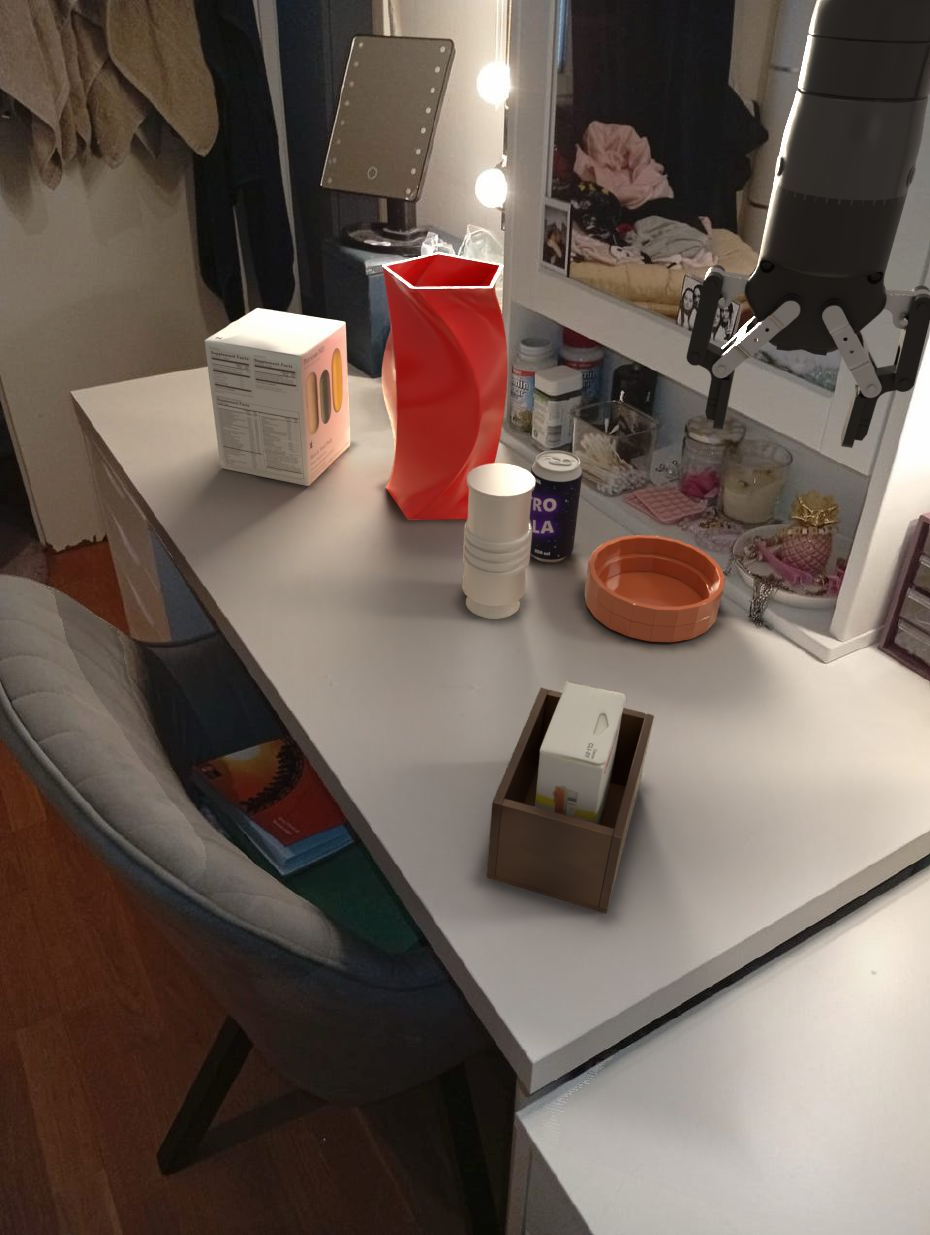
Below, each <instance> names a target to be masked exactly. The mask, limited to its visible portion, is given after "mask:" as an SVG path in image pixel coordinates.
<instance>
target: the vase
mask: <svg viewBox="0 0 930 1235" xmlns="http://www.w3.org/2000/svg"><path fill="white" fill-rule="evenodd" d="M504 266H505V265H504V264H501V263H495V262H489V261H485V260H480V259H475V258H469V257H464V256H459V255H455V254H448V253H444V252H434V253H429V254H426V255H422V256H418V257H412V258H408V259H404V260H399V261H394V262H390V263H385V264H382V266H381V267H382V273H383V279H384V285H385V292H386V299H387V305H388V306H387V307H388V314H389V322H390V330H389V333H388V336H387V340H386V343H385V347H384V353H383V357H382V365H381V389H382V395H383V400H384V405H385V408H386V411H387V415H388V419H389V422H390V427H391V432H392V437H393V447H394V456H393V464H392V468H391V472H390V476H389V478H388V482H387V484H386V486H385V489H386V490H387V492H388V494H390V496H391V497H392V499H393V500H394V502H395V503H396V504H397V506H398V507H399V509H400V510H401V511H402V513H403V515H404V516H405V517H406V519H407V520H409V521H416V520H417V521H418V520H468V501H469V487H468V485H467V475H468V473H469V472H470V471H471V470H472V469H474V468H476V467H478V466H481V465H485V464H493V463H496V459H497V455H498V449H499V445H500V440H501V436H502V431H503V430H502V429H503V424H504V419H505V418H504V417H505V410H506V402H507V394H508V393H507V392H508V376H509V375H508V374H509V373H508V371H509V370H508V369H509V367H508V366H509V364H508V363H509V362H508V361H509V360H508V358H509V357H508V343H507V334H506V328H505V327H506V326H505V322H504V318H503V312H502V310H501V306H500V302H499V299H498V296H497V291H496V284H497V280H498V277H499V275H500V273H501V271H502V269H503V268H504Z"/></svg>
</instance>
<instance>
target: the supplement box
mask: <svg viewBox="0 0 930 1235" xmlns="http://www.w3.org/2000/svg"><path fill="white" fill-rule="evenodd" d="M204 349H205V355H206V356H205V357H206V363H207V370H208V378H209V380H208V381H209V386H210V395H211V402H212V410H213V416H214V426H215V432H216V440H217V449H218V456H219V465H220V468H221V469H224V470H228V471H233V472H239V473H243V474H249V475H252V476H257V477H261V478H262V477H263V478H267V479H272V480H276V481H281V482H286V483H291V484H295V485H301V486H305V487H310V486H311V485H312V484H313V483H314V482H315V481H316V480H317V479H318V478H319V477H320V476H321V475H322V474H323V473H324V472H325V471H326V470H327V469H328V468H329V467H330V466H331V465H332V464H333V463H334V462H335V461H336V460H338V458H339V457H341V455H342V454H344V453H345V451H346V450H347V449H348V448H350V446H351V427H350V424H351V423H350V402H349V381H348V379H349V376H348V352H347V350H348V349H347V326H346V321H342V320H337V319H329V318H323V317H316V316H312V315H311V316H310V315H305V314H297V313H292V312H287V311H279V310H273V309H266V308H260V307H257V308H255V309H253V310H252V311H250V312H248V313H247V314H245V315H243V316H242V317H240V318H239V319H236V320H235V321H233V322H231V323H229V324H228V325H227V326H226V327H224V328H222V329H221V330H219V331H217V332H216V333H214V334H212V335H210V336H209V337H208V338H206V339H204Z"/></svg>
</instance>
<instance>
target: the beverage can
mask: <svg viewBox="0 0 930 1235" xmlns="http://www.w3.org/2000/svg"><path fill="white" fill-rule="evenodd" d="M530 473H531V474H532V475H533V476H534V478H535V487H534V490H533V491H532V496H531V507H530V518H529V523H530V525H531V526H532V539H531V550H530V556H532V557H533V558H534V559H535V560H538V561H540V562H543V563H557V562H560V561H562V560H564V559H566V558H567V557H568V556H570V555H571V554H572V553H573V551H574V546H575V537H576V530H577V521H578V513H579V506H580V497H581V489H582V481H583V474H584V473H583V469H582V467H581V460H580V458H579V457H578V455H576V454H574V453H571V452H569V451H565V450H558V449H554V450H553V449H551V450H546V451H542V452H540V453H539V454H537V456H536V457H535V461H534V463H533V464H532V466H531V468H530Z"/></svg>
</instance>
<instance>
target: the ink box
mask: <svg viewBox="0 0 930 1235" xmlns="http://www.w3.org/2000/svg"><path fill="white" fill-rule="evenodd" d="M626 703H627V696H626V695H625V694H624V693H622V692H616V691H613V690H609V689H605V688H601V687H596V686H591V685H587V684H583V683H579V682H574V681H571V680H570V681H569V680H566V682H565V685H564V688H563V691H562V695H561V698H560V700H559V702H558V705H557V707H556V710H555V712H554V715H553V717H552V720H551V722H550V725H549V727H548V730H547V732H546V735H545V737H544V740H543V743H542V745H541V748H540V758H539V769H538V780H537V791H536V800H535V807H537V808H541V809H544V810H548V811H551V812H555V813H559V814H562V815H566V816H569V817H573V818H577V819H580V820H584V821H588V822H591V823H595V824H598V825H600V824H601V820H602V816H603V812H604V808H605V805H606V801H607V797H608V792H609V786H610V780H611V775H612V769H613V764H614V758H615V752H616V747H617V741H618V735H619V729H620V723H621V717H622V712H623V708H625V704H626Z"/></svg>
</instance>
